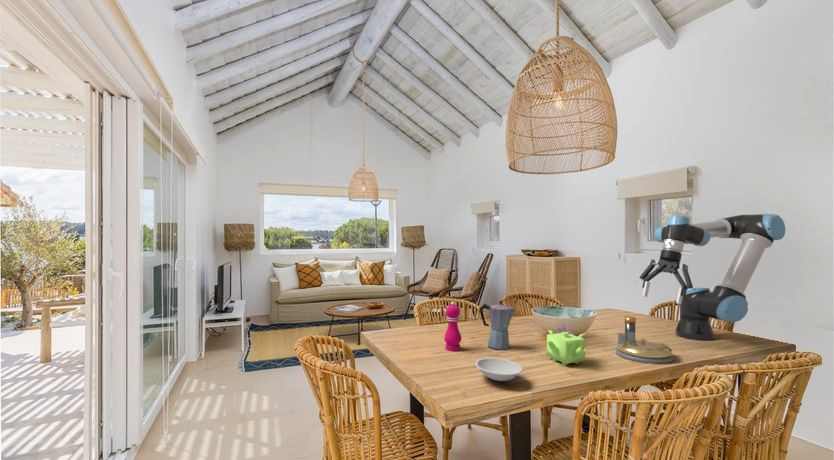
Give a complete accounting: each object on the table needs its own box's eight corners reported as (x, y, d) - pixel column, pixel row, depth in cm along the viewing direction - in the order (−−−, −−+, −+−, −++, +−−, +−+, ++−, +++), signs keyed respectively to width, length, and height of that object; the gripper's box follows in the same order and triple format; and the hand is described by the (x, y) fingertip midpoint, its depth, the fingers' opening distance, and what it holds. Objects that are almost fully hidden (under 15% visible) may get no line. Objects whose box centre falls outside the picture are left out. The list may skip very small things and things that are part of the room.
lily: (552, 351, 173) (563, 333, 170) (541, 334, 184) (552, 317, 180) (575, 358, 176) (587, 341, 172) (564, 340, 186) (574, 324, 183)
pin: (628, 342, 183) (628, 315, 183) (637, 345, 179) (637, 317, 179) (622, 344, 180) (622, 317, 180) (632, 346, 177) (632, 318, 177)
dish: (466, 375, 142) (466, 360, 142) (500, 369, 148) (500, 355, 148) (495, 393, 126) (495, 377, 126) (533, 386, 131) (533, 370, 131)
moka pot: (516, 351, 169) (516, 303, 169) (478, 349, 172) (479, 301, 172) (515, 345, 179) (515, 299, 179) (480, 343, 182) (480, 298, 182)
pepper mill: (442, 350, 170) (442, 302, 170) (446, 345, 177) (446, 299, 177) (459, 352, 168) (459, 303, 168) (463, 347, 175) (463, 300, 175)
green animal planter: (547, 354, 166) (547, 326, 166) (585, 358, 161) (585, 329, 161) (544, 365, 152) (544, 335, 152) (585, 370, 147) (585, 339, 147)
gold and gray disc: (633, 342, 177) (633, 328, 177) (681, 353, 161) (681, 338, 161) (607, 349, 166) (607, 334, 166) (655, 362, 150) (655, 345, 150)
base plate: (633, 346, 177) (633, 342, 177) (683, 358, 160) (683, 354, 160) (605, 353, 167) (605, 349, 167) (656, 367, 150) (656, 363, 150)
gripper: (638, 245, 182) (627, 292, 181) (701, 253, 162) (690, 305, 160) (646, 249, 186) (635, 294, 185) (708, 257, 166) (698, 308, 164)
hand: (661, 300), depth 173 cm, fingers open, 13 cm apart
